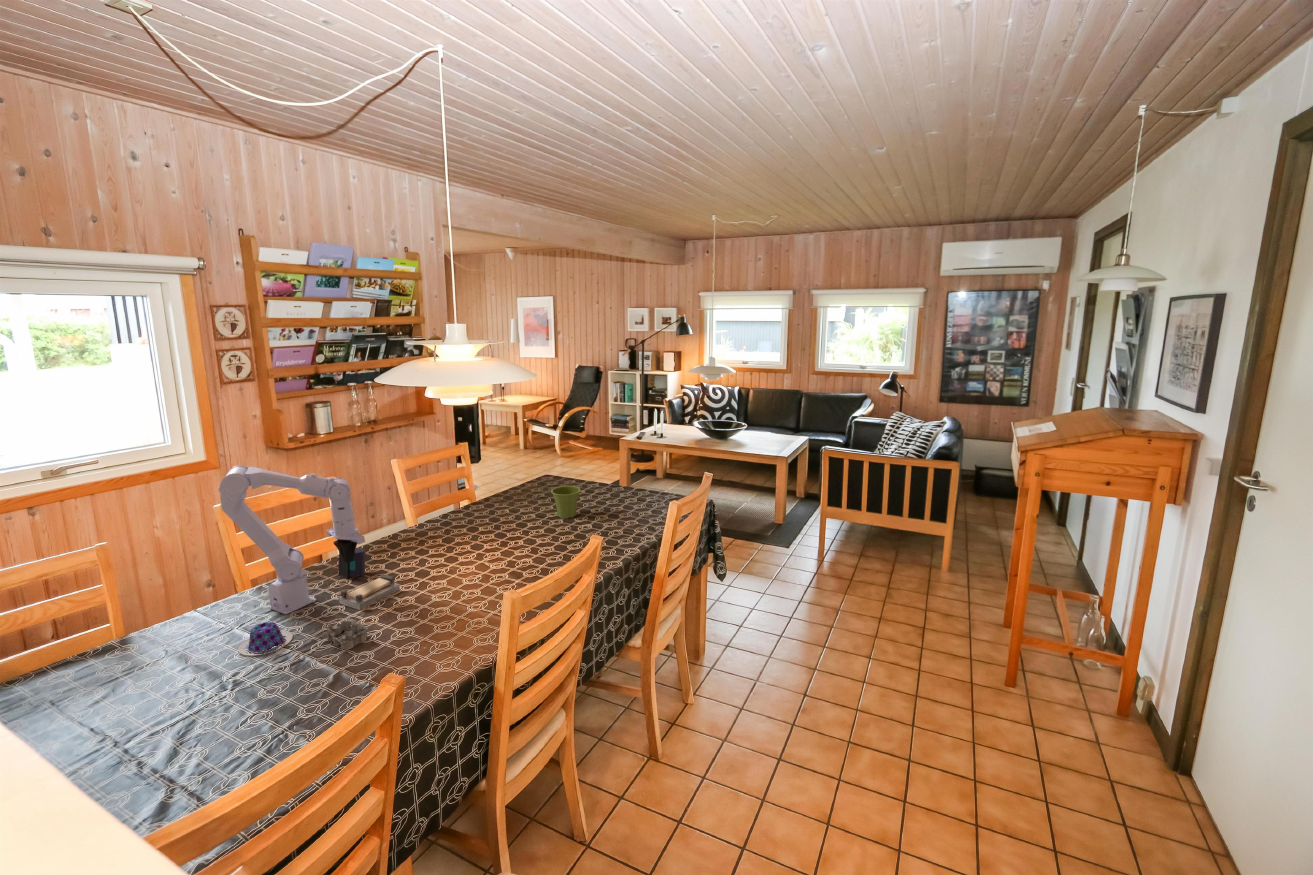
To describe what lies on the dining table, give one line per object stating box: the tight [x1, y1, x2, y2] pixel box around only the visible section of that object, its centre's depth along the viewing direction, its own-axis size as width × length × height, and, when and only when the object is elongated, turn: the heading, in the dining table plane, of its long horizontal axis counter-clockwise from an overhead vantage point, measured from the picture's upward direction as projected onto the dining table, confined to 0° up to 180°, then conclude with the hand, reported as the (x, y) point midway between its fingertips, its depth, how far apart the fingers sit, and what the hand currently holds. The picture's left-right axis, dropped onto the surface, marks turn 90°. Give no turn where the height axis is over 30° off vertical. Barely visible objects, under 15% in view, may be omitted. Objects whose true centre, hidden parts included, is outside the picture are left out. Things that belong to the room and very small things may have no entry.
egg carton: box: [323, 618, 369, 650], centre depth 160 cm, size 11×8×4 cm
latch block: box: [338, 573, 401, 611], centre depth 183 cm, size 14×9×4 cm, turn 153°
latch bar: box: [346, 577, 391, 600], centre depth 183 cm, size 12×5×1 cm, turn 153°
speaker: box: [338, 547, 367, 581], centre depth 197 cm, size 8×6×10 cm
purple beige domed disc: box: [238, 621, 293, 657], centre depth 158 cm, size 12×12×5 cm
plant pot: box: [550, 485, 581, 519], centre depth 251 cm, size 12×12×11 cm
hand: (349, 561), depth 184 cm, fingers closed
